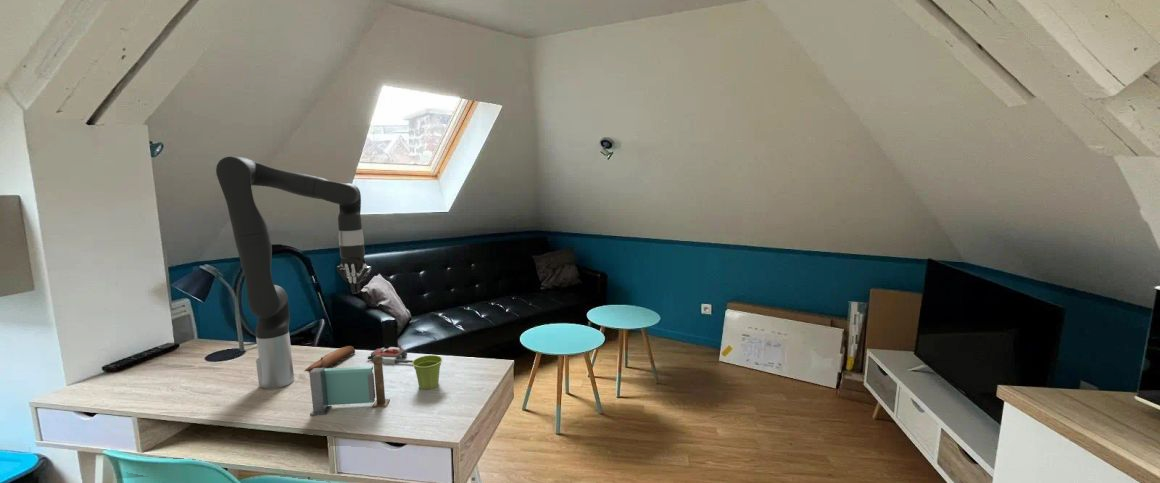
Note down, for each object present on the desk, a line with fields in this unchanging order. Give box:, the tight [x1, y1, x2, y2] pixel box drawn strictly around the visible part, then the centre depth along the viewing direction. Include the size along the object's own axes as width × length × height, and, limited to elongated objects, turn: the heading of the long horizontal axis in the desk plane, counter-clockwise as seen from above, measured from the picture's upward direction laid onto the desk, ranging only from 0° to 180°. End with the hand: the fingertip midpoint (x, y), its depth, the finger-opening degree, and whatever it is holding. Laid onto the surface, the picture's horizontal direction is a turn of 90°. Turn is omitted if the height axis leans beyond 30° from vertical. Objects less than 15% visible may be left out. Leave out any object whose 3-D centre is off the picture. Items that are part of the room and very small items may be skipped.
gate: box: [325, 365, 376, 406], centre depth 143 cm, size 16×2×11 cm, turn 96°
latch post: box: [308, 368, 333, 417], centre depth 140 cm, size 4×4×13 cm
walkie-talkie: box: [367, 346, 414, 365], centre depth 179 cm, size 9×4×20 cm
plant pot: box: [411, 354, 443, 390], centre depth 157 cm, size 9×9×9 cm
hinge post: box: [372, 355, 391, 409], centre depth 144 cm, size 4×4×16 cm
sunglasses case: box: [304, 345, 356, 373], centre depth 177 cm, size 18×7×7 cm, turn 170°
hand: (356, 293), depth 163 cm, fingers closed
